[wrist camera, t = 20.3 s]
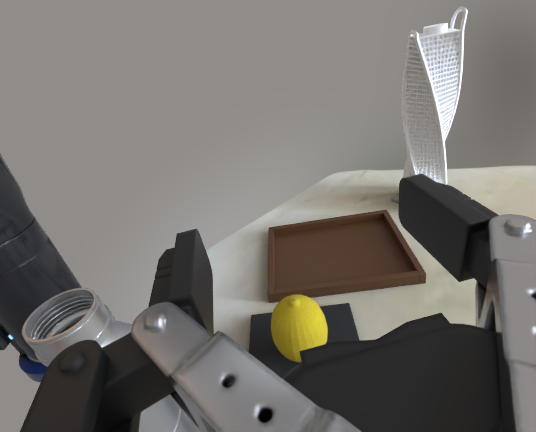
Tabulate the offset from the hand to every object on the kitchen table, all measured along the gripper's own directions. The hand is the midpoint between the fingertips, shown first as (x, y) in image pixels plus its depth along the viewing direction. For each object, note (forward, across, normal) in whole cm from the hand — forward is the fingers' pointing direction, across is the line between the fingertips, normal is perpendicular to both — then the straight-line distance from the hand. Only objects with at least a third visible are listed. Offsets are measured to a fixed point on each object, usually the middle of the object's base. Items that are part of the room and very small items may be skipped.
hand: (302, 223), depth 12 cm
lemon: (+11, 0, +23) cm, 26 cm away
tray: (+26, -9, +24) cm, 36 cm away
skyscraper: (+34, -27, +24) cm, 49 cm away
